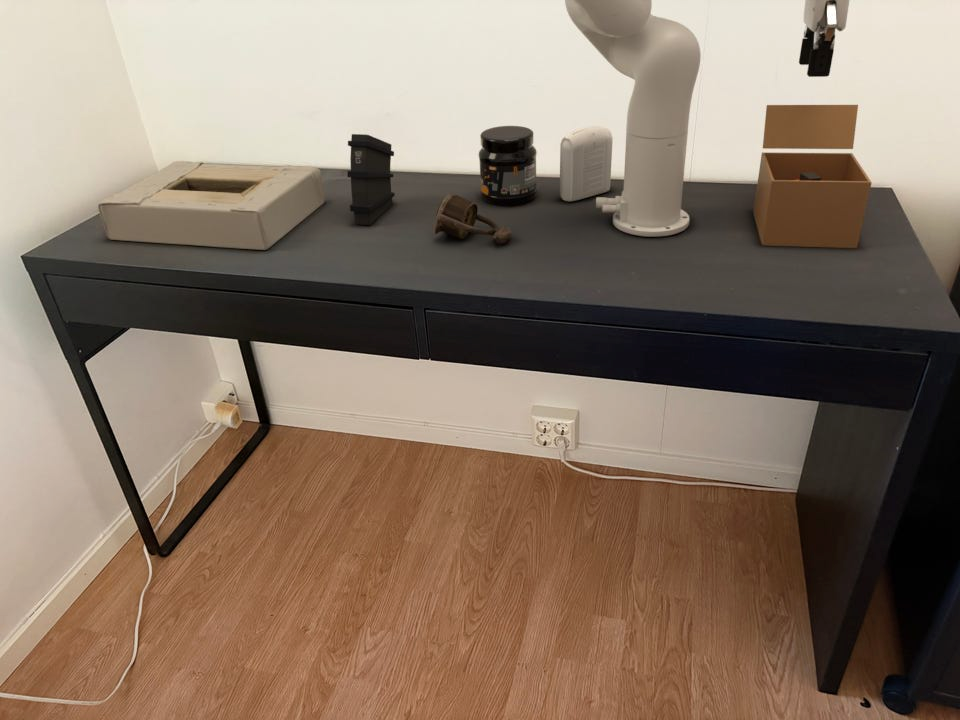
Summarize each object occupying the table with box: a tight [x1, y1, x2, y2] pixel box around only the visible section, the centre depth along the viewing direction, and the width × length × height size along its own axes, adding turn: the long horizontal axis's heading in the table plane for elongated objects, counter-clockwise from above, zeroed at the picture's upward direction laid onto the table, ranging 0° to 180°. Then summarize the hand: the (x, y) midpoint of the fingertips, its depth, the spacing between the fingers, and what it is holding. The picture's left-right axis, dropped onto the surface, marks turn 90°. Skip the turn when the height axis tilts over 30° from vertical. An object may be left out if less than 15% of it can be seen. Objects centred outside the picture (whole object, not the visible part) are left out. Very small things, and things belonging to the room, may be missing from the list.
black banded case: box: [346, 133, 396, 226], centre depth 138 cm, size 4×13×15 cm, turn 163°
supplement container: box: [478, 125, 538, 206], centre depth 141 cm, size 10×10×12 cm
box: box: [97, 160, 326, 251], centre depth 140 cm, size 23×8×32 cm
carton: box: [752, 152, 873, 249], centre depth 122 cm, size 14×14×10 cm
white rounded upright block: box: [559, 125, 613, 202], centre depth 140 cm, size 10×4×12 cm, turn 123°
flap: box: [762, 104, 859, 150], centre depth 124 cm, size 14×7×1 cm
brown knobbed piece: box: [432, 193, 512, 245], centre depth 127 cm, size 7×13×10 cm
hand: (813, 69), depth 124 cm, fingers open, 8 cm apart
